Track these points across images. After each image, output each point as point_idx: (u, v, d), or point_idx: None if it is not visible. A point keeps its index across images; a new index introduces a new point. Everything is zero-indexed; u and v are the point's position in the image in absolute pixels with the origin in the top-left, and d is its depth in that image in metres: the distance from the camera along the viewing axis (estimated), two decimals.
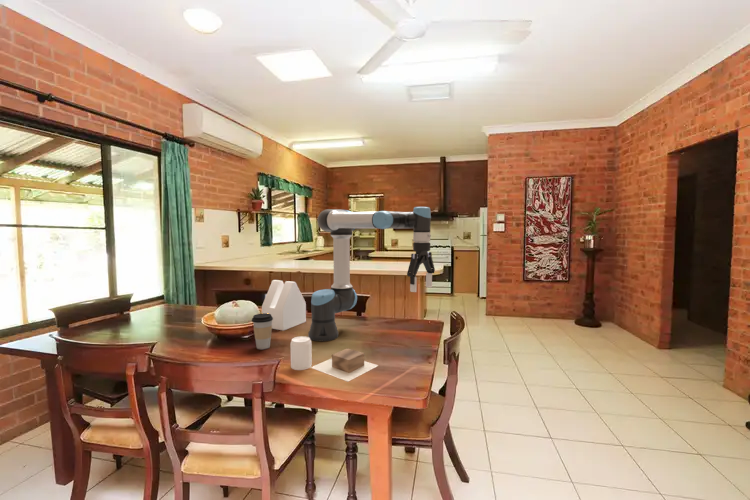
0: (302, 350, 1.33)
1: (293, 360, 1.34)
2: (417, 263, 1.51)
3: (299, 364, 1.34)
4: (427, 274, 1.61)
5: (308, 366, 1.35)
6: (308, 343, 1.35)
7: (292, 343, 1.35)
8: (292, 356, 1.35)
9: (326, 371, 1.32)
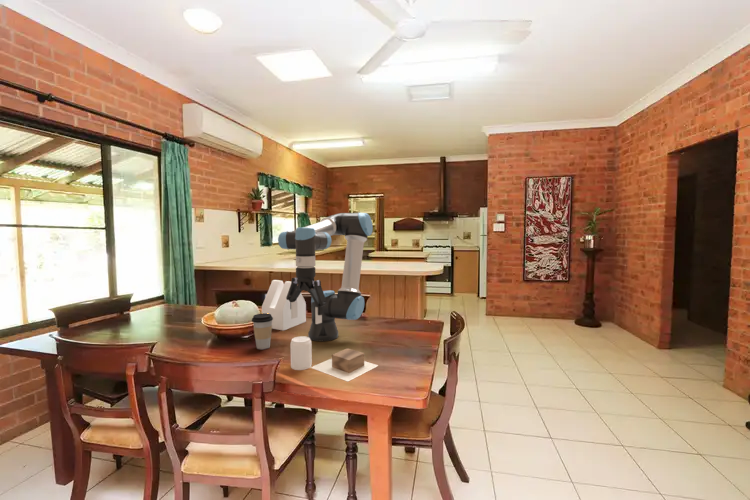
0: (301, 350, 1.33)
1: (293, 360, 1.34)
2: None
3: (299, 364, 1.34)
4: None
5: (308, 366, 1.35)
6: (308, 343, 1.35)
7: (292, 343, 1.35)
8: (292, 356, 1.35)
9: (326, 371, 1.32)
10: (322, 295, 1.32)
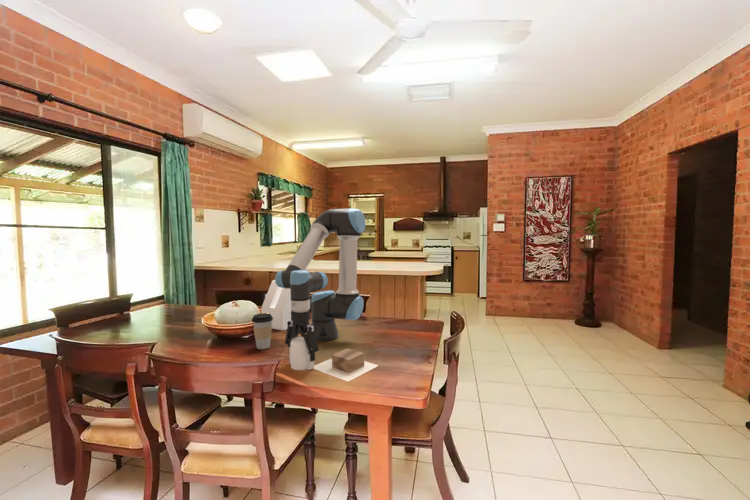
0: (301, 350, 1.33)
1: (293, 360, 1.34)
2: None
3: (299, 364, 1.34)
4: None
5: None
6: None
7: (292, 343, 1.35)
8: (292, 356, 1.35)
9: (326, 371, 1.32)
10: (315, 341, 1.32)
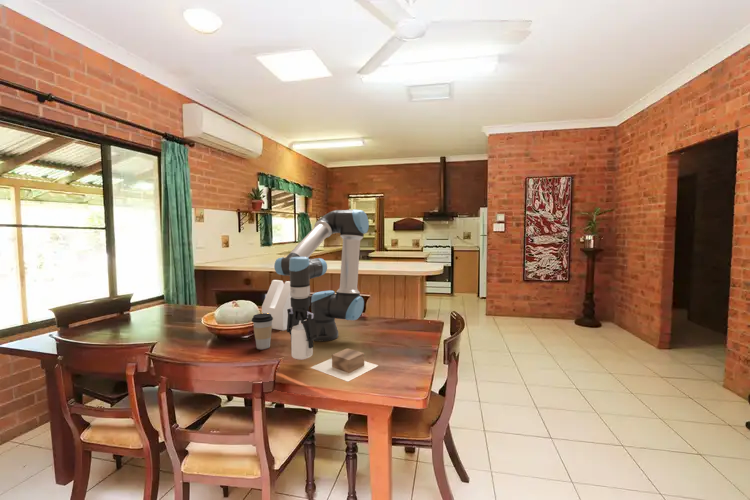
0: (302, 338, 1.33)
1: (294, 348, 1.34)
2: None
3: (300, 351, 1.34)
4: None
5: None
6: None
7: (293, 331, 1.34)
8: (293, 344, 1.35)
9: (326, 371, 1.32)
10: (314, 329, 1.33)
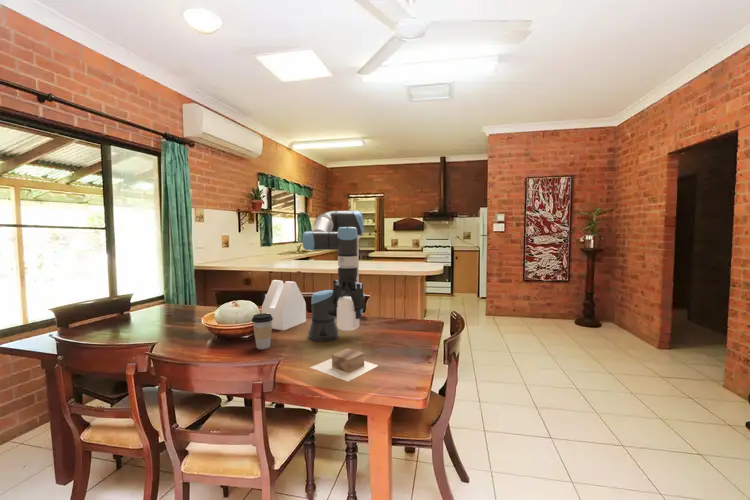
0: (350, 308, 1.31)
1: (341, 318, 1.32)
2: None
3: (347, 322, 1.32)
4: None
5: None
6: None
7: (340, 301, 1.33)
8: (340, 314, 1.33)
9: (326, 371, 1.32)
10: (362, 299, 1.31)
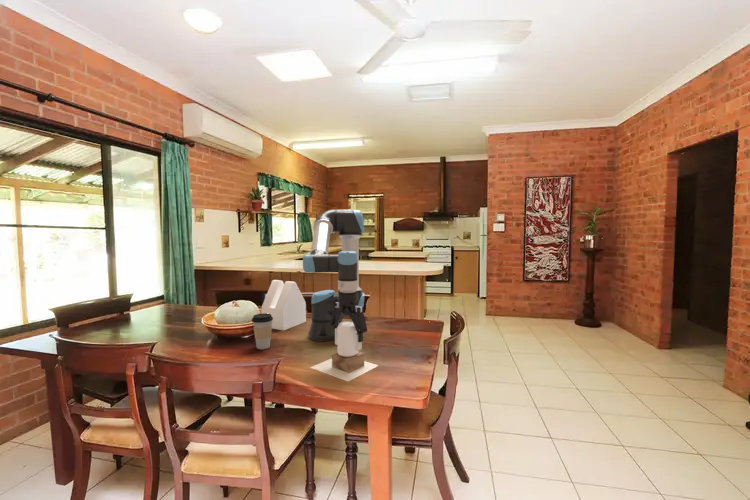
0: (349, 335, 1.32)
1: (341, 345, 1.33)
2: None
3: (347, 348, 1.33)
4: None
5: (355, 351, 1.34)
6: None
7: (339, 328, 1.34)
8: (340, 341, 1.34)
9: (326, 371, 1.32)
10: (363, 322, 1.31)
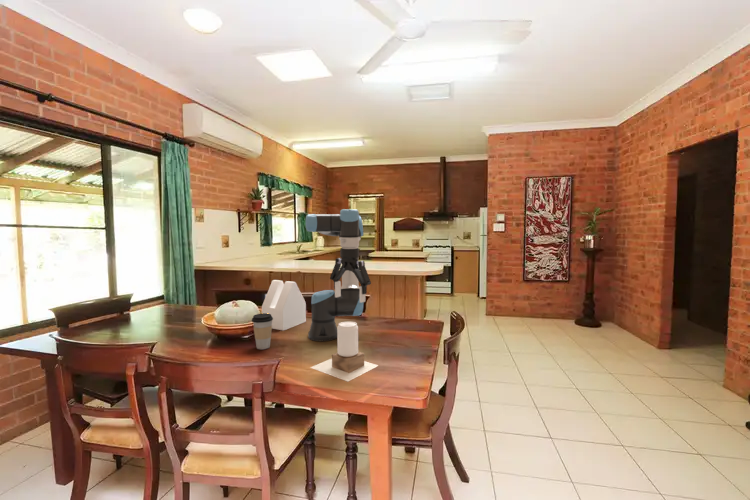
0: (349, 335, 1.32)
1: (341, 345, 1.33)
2: None
3: (347, 348, 1.33)
4: None
5: (355, 351, 1.34)
6: (355, 328, 1.34)
7: (340, 328, 1.34)
8: (340, 341, 1.34)
9: (326, 371, 1.32)
10: (366, 275, 1.36)
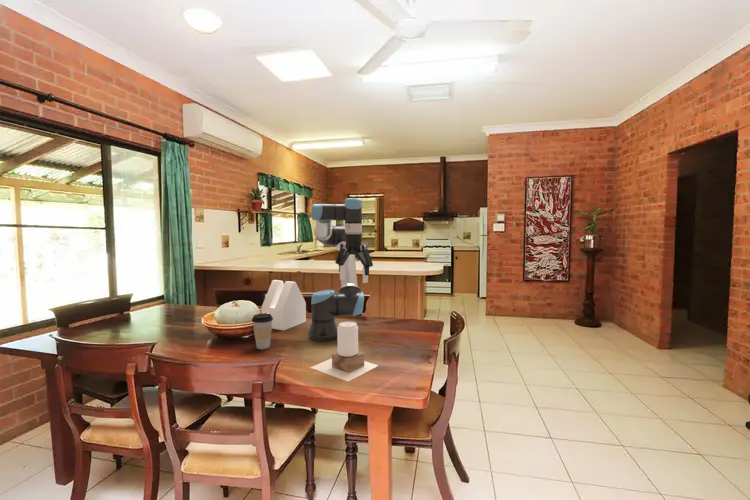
0: (349, 335, 1.32)
1: (341, 345, 1.33)
2: (345, 253, 1.57)
3: (347, 348, 1.33)
4: None
5: (355, 351, 1.34)
6: (355, 328, 1.34)
7: (340, 328, 1.34)
8: (340, 341, 1.34)
9: (326, 371, 1.32)
10: (369, 257, 1.50)
